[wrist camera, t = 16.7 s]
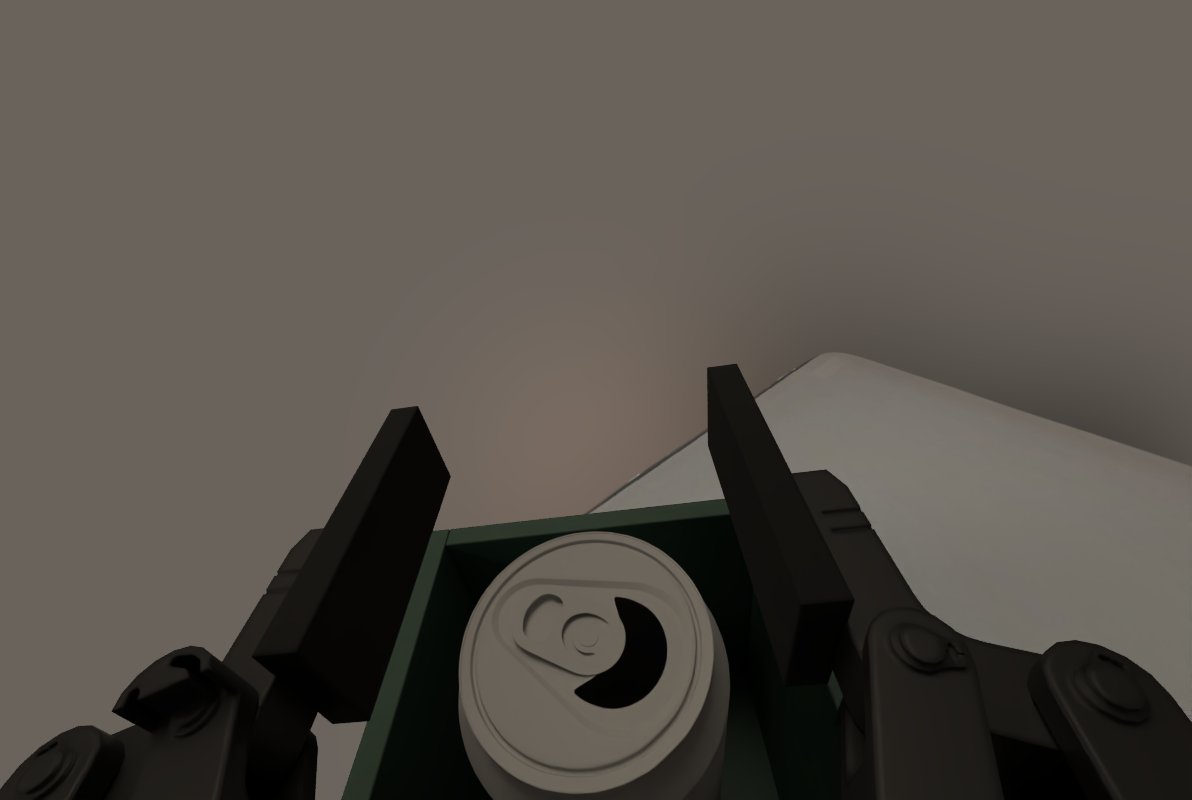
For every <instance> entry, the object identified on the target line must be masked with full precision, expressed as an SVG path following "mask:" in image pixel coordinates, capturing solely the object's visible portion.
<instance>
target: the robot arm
mask: <svg viewBox="0 0 1192 800" xmlns="http://www.w3.org/2000/svg"><path fill="white" fill-rule="evenodd" d="M707 383H708V384H707V389H708V447H709V450H710V453H711V456H712V459H713V463H714V466H715V469H716V472H717V475H718V478H719V481H720V485H721V488H722V491H723V494H724V497H725V500H726V503H727V507H728V510H729V513H730V516H731V519H732V522H733V525H734V529H735V532H736V535H737V538H738V541H739V544H740V547H741V551H742V554H743V557H744V560H745V563H746V566H747V569H748V573H749V576H750V579H751V582H752V585H753V588H754V591H755V595H756V598H757V601H758V604H759V607H760V610H761V613H762V617H763V620H764V623H765V626H766V629H767V632H768V635H769V639H770V642H771V645H772V648H773V651H774V654H775V657H776V661H777V664H778V667H779V670H780V673H781V676H782V679H783V683H784V686H785V687H792V686H804V685H816V684H828V682H829V679H830V676H831V673H832V670H833V672H834V675H835V677H836V679H837V682H838V684H839V687H840V689H841V692H842V694H843V697H842V700H841V703H840V705H839V708H838V711H837V714H836V718H835V723H834V725H835V726H838V727H841V800H1192V722H1191V721H1190V720H1189V718H1188V717H1187V716H1186V714H1185V713H1184V712H1183V710H1182V709H1181V708H1180V706H1179V705H1178V704H1177V702H1176V701H1175V700H1174V698H1173V697H1172V696H1171V695H1170V694H1169V693H1168V692H1167V691H1166V690H1165V689H1164V688H1163V686H1162V685H1161V684H1160V683H1159V682H1158V681H1157V680H1156V679H1155V678H1154V677H1153V676H1152V675H1151V674H1149V673H1148V672H1147V671H1145V670H1144V669H1142V668H1141V667H1139V666H1138V665H1137V664H1135V663H1134V662H1132V661H1131V660H1129V659H1128V658H1127V657H1125V656H1123V655H1120V654H1118V653H1116V652H1114V651H1111V650H1109V649H1107V648H1105V647H1103V646H1100V645H1097V644H1092V643H1087V642H1082V641H1077V640H1072V641H1064V642H1056V643H1055V644H1054V645H1053V646H1051V647H1050V648H1049V649H1048V650H1046V651H1045V652H1044V653H1043V655H1042V654H1038V653H1033V652H1028V651H1023V650H1019V649H1014V648H1009V647H1005V646H1000V645H995V644H991V643H986V642H982V641H979V640H976V639H972V638H969V637H966V636H964V635H962V634H960V633H958V632H956V631H955V630H954V629H953V628H951V627H950V626H948V625H947V624H946V623H944V622H943V621H941V620H940V619H938V618H937V617H936V616H934V615H931V614H930V613H929V612H928V611H927V610H926V609H925V608H924V607H923V606H922V605H921V603H920V602H919V601H918V599H917V598H916V597H915V595H914V594H913V592H912V590H911V589H910V587H909V585H908V584H907V582H906V581H905V579H904V577H903V576H902V574H901V573H900V571H899V569H898V568H897V566H896V564H895V563H894V561H893V560H892V558H891V556H890V555H889V553H888V551H887V550H886V548H885V547H884V545H883V543H882V542H881V540H880V539H879V537H878V535H877V534H876V532H875V530H874V529H873V530H872V528H871V524H870V522H869V521H868V519H867V517H866V516H865V514H864V513H863V512H861V510H860V506H859V505H858V503H857V501H856V500H855V498H854V496H853V495H852V493H851V492H850V490H849V488H848V487H847V486H846V485H845V484H844V483H842V482H841V481H840V480H839V479H837V478H836V477H835V476H834V475H832V474H831V473H830V472H829V471H827V470H818V471H809V472H800V473H791V471H790V469H789V467H788V465H787V463H786V461H785V459H784V457H783V455H782V453H781V451H780V449H779V447H778V445H777V443H776V441H775V439H774V437H773V435H772V433H771V431H770V429H769V427H768V425H767V423H766V421H765V419H764V417H763V415H762V413H761V411H760V409H759V407H758V405H757V403H756V401H755V399H754V397H753V396H752V393H751V391H750V389H749V388H748V386H747V383H746V381H745V380H744V378H743V376H742V373H741V371H740V370H739V368H738V366H737V364H731V365H724V366H716V367H708V368H707ZM450 477H451V476H450V474H449V472H448V470H447V467H446V465H445V463H444V461H443V459H442V457H441V455H440V452H439V450H438V448H437V446H436V444H435V442H434V440H433V438H432V435H431V433H430V431H429V429H428V427H427V425H426V422H425V420H424V418H423V416H422V414H421V412H420V410H419V407H418V406H415V407H407V408H400V409H392V410H391V411H390V413H389V415H388V416H387V418H386V420H385V422H384V424H383V425H382V427H381V429H380V431H379V432H378V434H377V436H376V438H375V439H374V441H373V443H372V445H371V446H370V448H369V450H368V452H367V454H366V455H365V457H364V459H363V460H362V462H361V464H360V466H359V468H358V469H357V471H356V473H355V475H354V476H353V478H352V480H351V482H350V483H349V485H348V487H347V489H346V490H345V492H344V494H343V496H342V498H341V499H340V501H339V503H338V505H337V506H336V508H335V510H334V512H333V514H332V515H331V517H330V519H329V520H328V522H327V524H326V526H325V527H324V528H323V529H314V530H310V531H309V532H308V533H307V534H306V535H305V536H304V537H303V538H302V539H301V540H300V541H299V542H298V543H297V544H296V545H295V546H294V547H293V548H292V549H291V550H290V552H289V553H288V555H287V557H286V558H285V560H284V562H283V563H282V565H281V566H280V568H279V570H278V571H277V572H278V575H277V576H274V578H273V580H272V581H271V583H270V584H269V586H268V588H267V593H266V594H265V595H263V596H262V598H261V599H260V601H259V602H258V604H257V606H256V608H255V609H254V611H253V612H252V614H251V616H250V617H249V619H248V621H247V622H246V624H245V626H244V627H243V629H242V630H241V632H240V634H239V635H238V637H237V639H236V640H235V642H234V643H233V645H232V647H231V648H230V650H229V652H228V653H227V655H226V656H225V658H224V660H223V661H222V662H221V661H220V660H218V659H217V658H216V657H215V656H213V655H212V654H210V653H209V652H208V651H207V650H205V649H204V648H203V647H195V646H189V647H185V648H182V649H178V650H174V651H173V652H171V653H169V654H167V655H165V656H164V657H162V658H160V659H159V660H156V661H155V662H154V663H153V664H151V665H150V666H149V667H148V668H146V669H145V670H144V671H143V672H142V673H140V674H139V675H138V676H137V677H136V678H135V679H134V680H133V681H132V682H131V684H130V685H129V686H128V687H127V688H126V689H125V690H124V691H123V693H122V694H121V696H120V698H119V699H118V701H117V703H116V704H115V706H114V708H113V710H112V712H113V713H116V714H117V715H119V716H121V717H122V718H124V719H126V720H128V721H130V722H132V723H133V724H135V725H134V726H132V727H129V728H127V729H124V730H122V731H120V732H117V733H115V734H112V735H110V734H108V733H106V732H104V731H102V730H100V729H98V728H96V727H94V726H78V727H75V728H73V729H71V730H68V731H66V732H63V733H61V734H59V735H58V736H56V737H55V738H53V739H52V740H50V741H49V742H47V743H46V744H44V745H43V746H41V747H40V748H39V749H37V750H36V751H35V752H34V753H33V754H32V755H31V756H30V757H29V758H27V759H26V760H25V761H24V762H23V763H22V764H21V765H20V766H19V767H18V768H17V769H16V771H15V772H14V773H13V774H12V775H11V777H10V778H9V779H8V780H7V781H6V783H5V784H4V785H3V786H2V788H1V789H0V800H315V789H316V772H317V754H318V746H317V740H316V736H315V735H314V734H313V733H312V732H311V731H310V729H311V727H312V724H313V722H314V720H315V717H316V715H317V712H319V713H320V714H321V715H322V716H324V717H325V718H326V719H327V720H328V721H330V722H331V723H332V724H338V723H351V722H362V721H370V719H371V716H372V713H373V710H374V707H375V703H376V700H377V697H378V694H379V691H380V688H381V685H382V682H383V679H384V676H385V673H386V670H387V667H388V664H389V661H390V658H391V655H392V652H393V649H394V646H395V643H396V640H397V637H398V634H399V631H400V628H401V625H402V622H403V619H404V616H405V613H406V610H407V607H408V604H409V601H410V598H411V595H412V592H413V589H414V586H415V583H416V580H417V577H418V574H419V571H420V568H421V565H422V562H423V559H424V556H425V552H426V549H427V546H428V543H429V540H430V537H431V534H432V531H433V528H434V525H435V522H436V519H437V516H438V513H439V510H440V507H441V504H442V501H443V498H444V495H445V492H446V489H447V486H448V483H449V480H450Z"/></svg>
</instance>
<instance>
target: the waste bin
mask: <svg viewBox="0 0 1192 800" xmlns="http://www.w3.org/2000/svg"><path fill="white" fill-rule="evenodd" d="M582 532H612V533H618V534H623V535H628V536H631V537H634V538H637V539H640V540H642V541H645V542H647V543H649V544H651V545H652V546H654V547H656V548H658V549H660V550H661V551H663V552H664V553H665V554H667V555H668V556H669V557H670V558H672V559H673V560H674V561H675V562H676V563H677V564H678V565H679V566H680V567H681V568H682V569H683V570H684V571H685V572H686V574H687V575H688V576H689V577H690V579H691V580H692V581H693V583H694V585H695V586H696V588H697V589H698V591H699V593H700V595H701V597H702V599H703V601H704V603H705V604H706V606H707V607H708V609H709V610H710V612H711V614H712V616H713V617H714V619H715V622H716V624H717V626H718V628H719V631H720V633H721V636H722V639H723V642H724V645H725V650H726V654H727V658H728V664H729V676H730V698H729V709H728V719H727V730H726V740H725V751H724V761H723V771H722V782H721V792H720V800H841V727H838V726H835V725H834V723H835V718H836V714H837V711H838V708H839V705H840V703H841V700H842V697H843V694H842V692H841V689H840V687H839V684H838V682H837V679H836V677H835V675H834V672H833V670H832V673H831V676H830V679H829V682H828V684H816V685H804V686H792V687H785V686H784V683H783V679H782V676H781V673H780V670H779V667H778V664H777V661H776V657H775V654H774V651H773V648H772V645H771V642H770V639H769V635H768V632H767V629H766V626H765V623H764V620H763V617H762V613H761V610H760V607H759V604H758V601H757V598H756V595H755V591H754V588H753V585H752V582H751V579H750V576H749V573H748V569H747V566H746V563H745V560H744V557H743V554H742V551H741V547H740V544H739V541H738V538H737V535H736V532H735V529H734V525H733V522H732V519H731V516H730V513H729V510H728V507H727V503H726V500H725V499H718V500H709V501H700V502H691V503H682V504H673V505H664V506H655V507H646V508H638V509H629V510H620V511H611V512H602V513H593V514H584V515H575V516H566V517H557V518H549V519H539V520H530V521H521V522H513V523H504V524H495V525H486V526H477V527H468V528H459V529H451V530H440V531H432V534H431V537H430V540H429V543H428V546H427V549H426V552H425V556H424V559H423V562H422V565H421V568H420V571H419V574H418V577H417V580H416V583H415V586H414V589H413V592H412V595H411V598H410V601H409V604H408V607H407V610H406V613H405V616H404V619H403V622H402V625H401V628H400V631H399V634H398V637H397V640H396V643H395V646H394V649H393V652H392V655H391V658H390V661H389V664H388V667H387V670H386V673H385V676H384V679H383V682H382V685H381V688H380V691H379V694H378V697H377V700H376V703H375V707H374V710H373V713H372V716H371V719H370V721H367V724H366V727H365V730H364V733H363V737H362V740H361V743H360V745H359V749H358V751H357V754H356V758H355V760H354V764H353V766H352V769H351V772H350V775H349V778H348V781H347V785H346V787H345V790H344V793H343V796H342V799H341V800H493V799H492V797H491V796H490V795H489V793H488V792H487V791H486V789H485V788H484V787H483V785H482V784H481V782H480V780H479V779H478V777H477V775H476V774H475V772H474V769H473V767H472V765H471V763H470V761H469V758H468V755H467V752H466V750H465V746H464V742H463V738H462V734H461V728H460V722H459V709H458V707H459V659H460V652H461V646H462V641H463V637H464V633H465V630H466V627H467V625H468V622H469V619H470V617H471V615H472V612H473V611H474V609H475V607H476V605H477V603H478V602H479V600H480V598H481V596H482V595H483V593H484V592H485V591H486V589H487V588H488V587H489V585H490V584H491V583H492V582H493V580H494V579H495V578H496V577H497V576H498V575H499V574H500V573H501V572H502V571H503V570H504V569H505V568H506V567H507V566H508V565H509V564H511V563H512V562H513V561H515V560H516V559H517V558H519V557H520V556H521V555H523V554H524V553H526V552H528V551H529V550H531V549H533V548H535V547H536V546H538V545H540V544H543V543H545V542H547V541H550V540H552V539H555V538H558V537H562V536H565V535H570V534H575V533H582Z"/></svg>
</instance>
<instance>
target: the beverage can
mask: <svg viewBox="0 0 1192 800" xmlns="http://www.w3.org/2000/svg"><path fill="white" fill-rule="evenodd" d="M729 698H730V676H729V664H728V658H727V654H726V650H725V645H724V642H723V639H722V636H721V633H720V631H719V628H718V626H717V624H716V622H715V619H714V617H713V616H712V614H711V612H710V610H709V609H708V607H707V606H706V604H705V603H704V601H703V599H702V597H701V595H700V593H699V591H698V589H697V588H696V586H695V585H694V583H693V581H692V580H691V579H690V577H689V576H688V575H687V574H686V572H685V571H684V570H683V569H682V568H681V567H680V566H679V565H678V564H677V563H676V562H675V561H674V560H673V559H672V558H670V557H669V556H668V555H667V554H665V553H664V552H663V551H661V550H660V549H658V548H656V547H654V546H652V545H651V544H649V543H647V542H645V541H642V540H640V539H637V538H634V537H631V536H628V535H623V534H618V533H612V532H582V533H575V534H570V535H565V536H562V537H558V538H555V539H552V540H550V541H547V542H545V543H543V544H540V545H538V546H536V547H535V548H533V549H531V550H529V551H528V552H526V553H524V554H523V555H521V556H520V557H519V558H517V559H516V560H515V561H513V562H512V563H511V564H509V565H508V566H507V567H506V568H505V569H504V570H503V571H502V572H501V573H500V574H499V575H498V576H497V577H496V578H495V579H494V580H493V582H492V583H491V584H490V585H489V587H488V588H487V589H486V591H485V592H484V593H483V595H482V596H481V598H480V600H479V602H478V603H477V605H476V607H475V609H474V611H473V612H472V615H471V617H470V619H469V622H468V625H467V627H466V630H465V633H464V637H463V641H462V646H461V652H460V659H459V707H458V709H459V722H460V728H461V734H462V738H463V742H464V746H465V750H466V752H467V755H468V758H469V761H470V763H471V765H472V767H473V769H474V772H475V774H476V775H477V777H478V779H479V780H480V782H481V784H482V785H483V787H484V788H485V789H486V791H487V792H488V793H489V795H490V796H491V797H492V799H493V800H720V792H721V782H722V771H723V761H724V751H725V740H726V730H727V719H728V709H729Z"/></svg>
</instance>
